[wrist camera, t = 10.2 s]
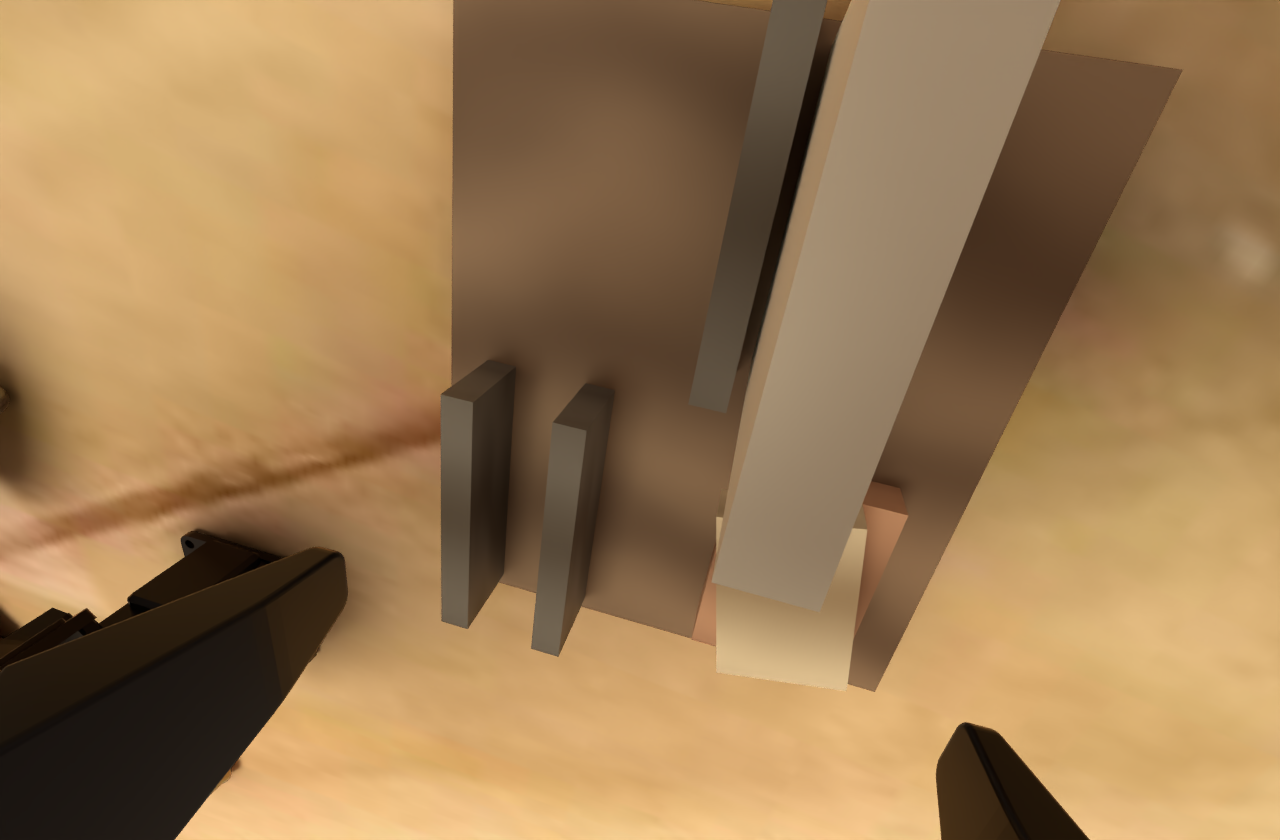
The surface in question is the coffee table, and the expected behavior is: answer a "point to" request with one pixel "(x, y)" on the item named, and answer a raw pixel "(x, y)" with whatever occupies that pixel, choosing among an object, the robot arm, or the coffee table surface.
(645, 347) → the walnut rack
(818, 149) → the off-white sheet
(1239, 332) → the coffee table surface
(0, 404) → the tabletop clock
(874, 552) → the cedar offcut
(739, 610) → the birch offcut
